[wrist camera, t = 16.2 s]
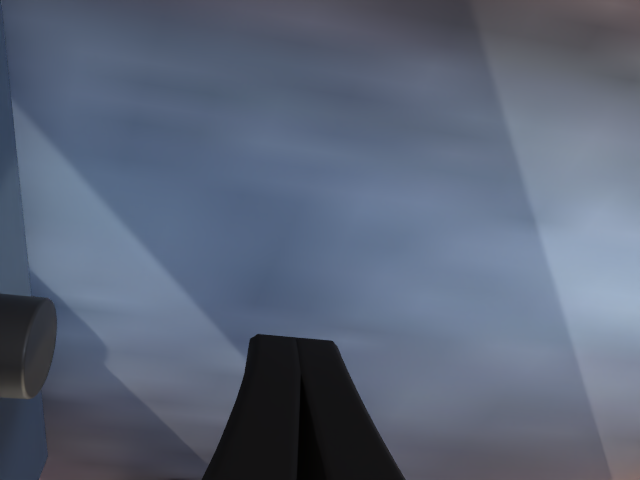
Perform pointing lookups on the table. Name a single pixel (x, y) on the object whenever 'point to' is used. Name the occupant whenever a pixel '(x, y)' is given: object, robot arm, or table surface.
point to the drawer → (19, 317)
